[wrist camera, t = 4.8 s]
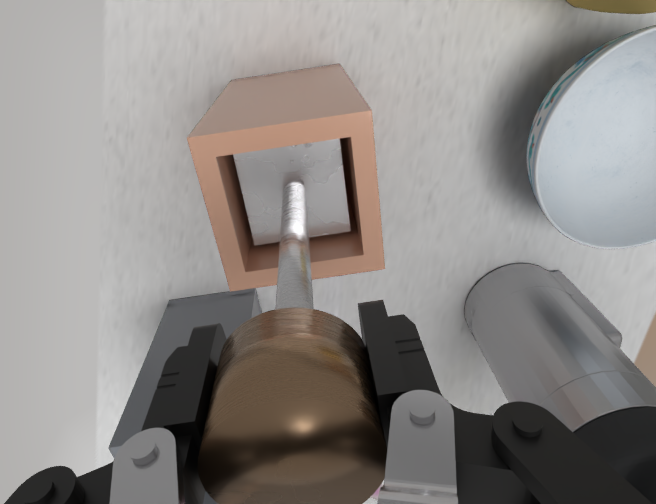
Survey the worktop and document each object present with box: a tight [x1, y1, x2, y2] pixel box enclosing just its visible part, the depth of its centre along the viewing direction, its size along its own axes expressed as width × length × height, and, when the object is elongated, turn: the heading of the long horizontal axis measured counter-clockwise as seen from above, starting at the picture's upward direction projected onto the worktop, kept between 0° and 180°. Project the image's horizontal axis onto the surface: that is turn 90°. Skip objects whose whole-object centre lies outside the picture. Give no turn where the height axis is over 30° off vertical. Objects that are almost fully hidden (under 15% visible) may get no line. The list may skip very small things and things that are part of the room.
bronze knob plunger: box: [197, 139, 387, 504], centre depth 17 cm, size 5×5×16 cm
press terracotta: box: [187, 64, 385, 292], centre depth 29 cm, size 8×8×16 cm
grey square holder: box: [109, 288, 262, 504], centre depth 38 cm, size 8×8×16 cm
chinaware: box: [527, 25, 656, 249], centre depth 34 cm, size 15×15×8 cm
